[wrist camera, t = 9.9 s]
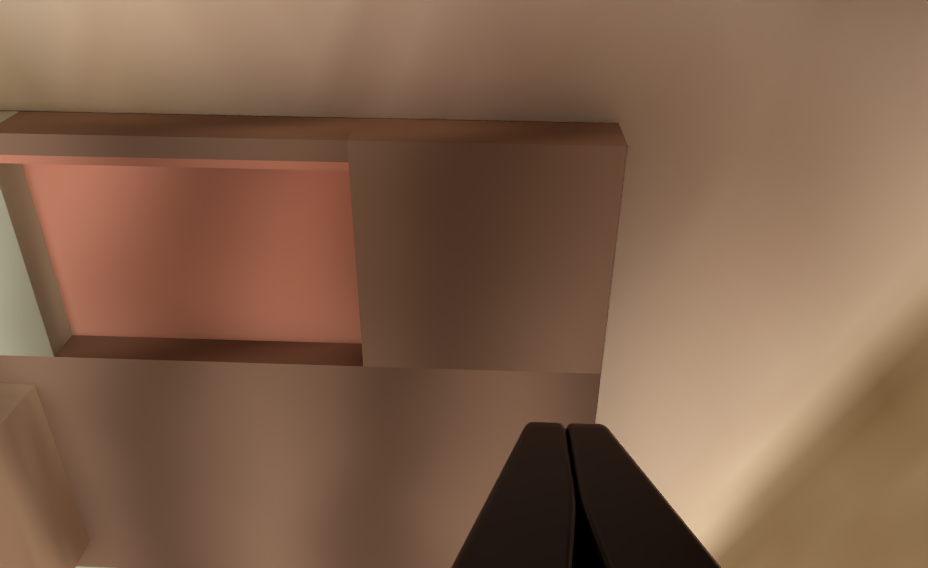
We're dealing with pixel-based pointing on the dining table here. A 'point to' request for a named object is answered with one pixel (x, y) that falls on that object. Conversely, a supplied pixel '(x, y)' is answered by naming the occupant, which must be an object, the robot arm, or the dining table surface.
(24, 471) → the maple block
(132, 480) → the trap deck
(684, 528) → the robot arm
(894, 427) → the dining table surface
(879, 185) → the dining table surface
